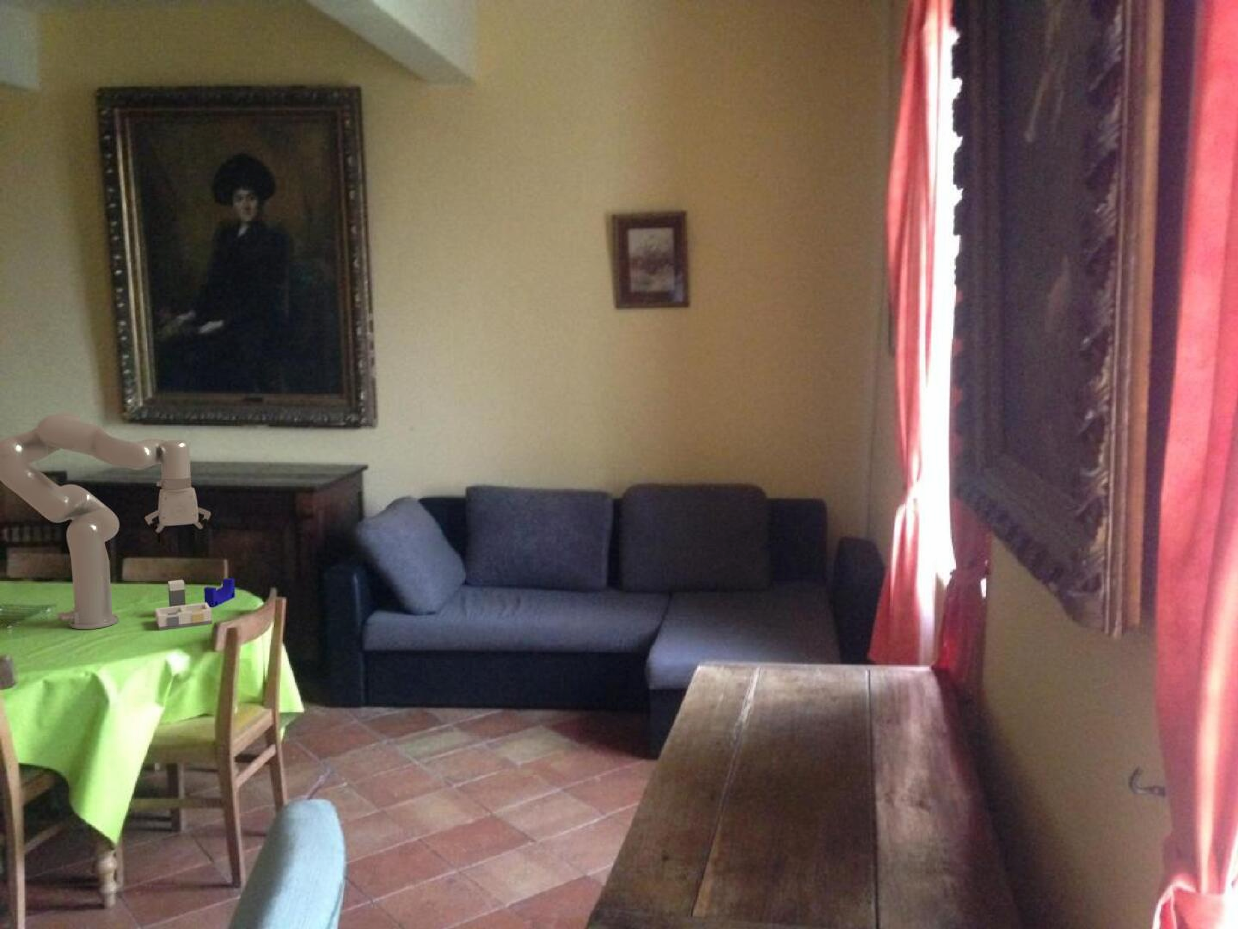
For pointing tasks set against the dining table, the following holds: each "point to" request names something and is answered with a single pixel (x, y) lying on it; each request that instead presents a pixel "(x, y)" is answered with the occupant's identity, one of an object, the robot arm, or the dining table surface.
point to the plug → (176, 593)
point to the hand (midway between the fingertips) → (179, 543)
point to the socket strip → (183, 616)
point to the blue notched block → (220, 593)
